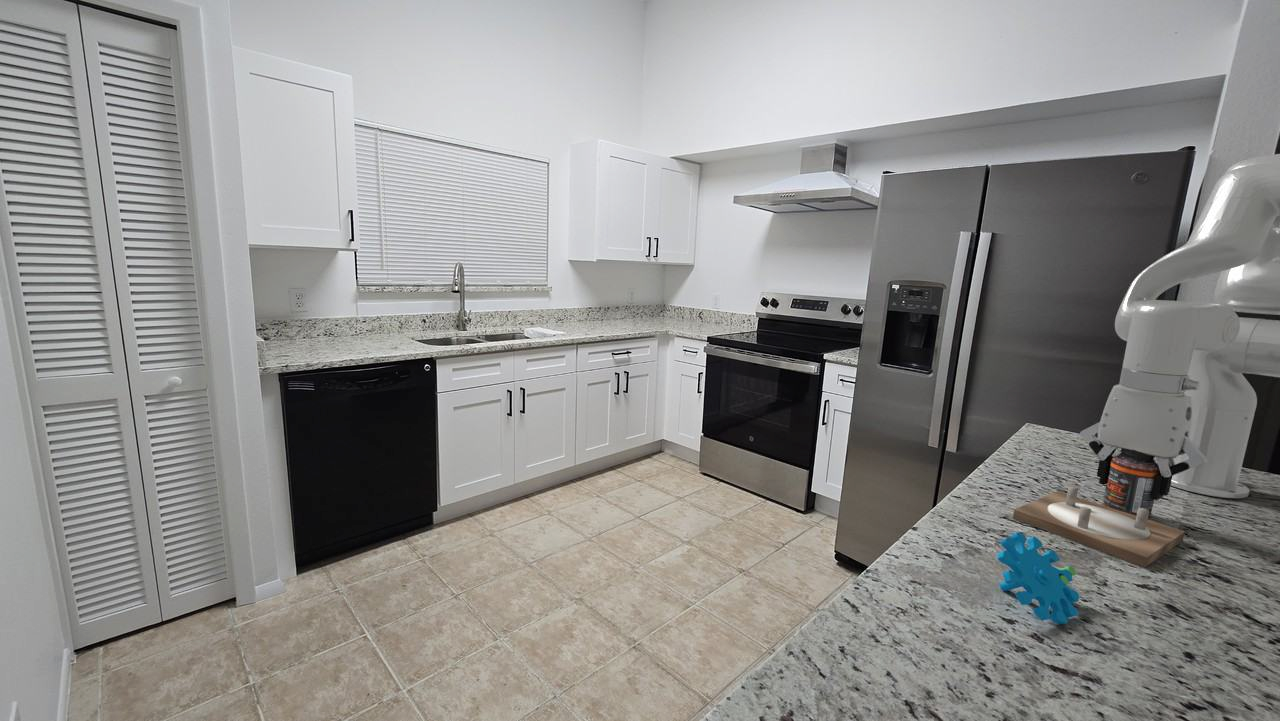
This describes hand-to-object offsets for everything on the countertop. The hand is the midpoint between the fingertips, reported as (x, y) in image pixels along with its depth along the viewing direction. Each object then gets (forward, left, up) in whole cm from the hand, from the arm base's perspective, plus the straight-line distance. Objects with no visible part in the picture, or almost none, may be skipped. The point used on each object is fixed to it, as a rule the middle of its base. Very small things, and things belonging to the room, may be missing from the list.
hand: (1130, 489), depth 87 cm
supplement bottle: (0, 0, -4) cm, 4 cm away
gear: (+42, +5, -4) cm, 42 cm away
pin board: (+12, 0, -4) cm, 13 cm away
